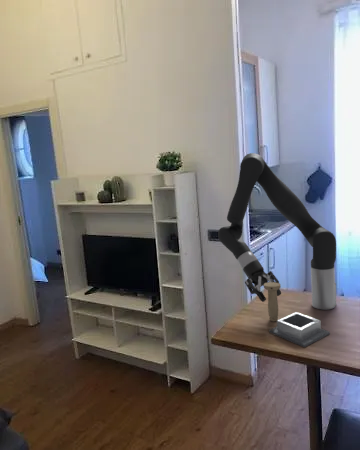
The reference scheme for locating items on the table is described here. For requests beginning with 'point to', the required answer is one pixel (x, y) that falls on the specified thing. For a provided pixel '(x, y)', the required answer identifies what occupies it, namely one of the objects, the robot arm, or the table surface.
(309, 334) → the socket
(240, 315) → the table surface
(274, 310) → the handle
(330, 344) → the table surface
